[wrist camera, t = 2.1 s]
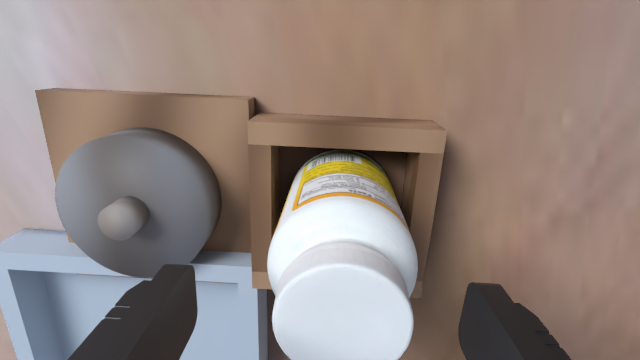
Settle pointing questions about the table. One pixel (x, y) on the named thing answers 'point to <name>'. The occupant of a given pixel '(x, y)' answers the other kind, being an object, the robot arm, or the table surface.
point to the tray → (105, 291)
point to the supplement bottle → (342, 263)
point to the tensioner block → (204, 174)
